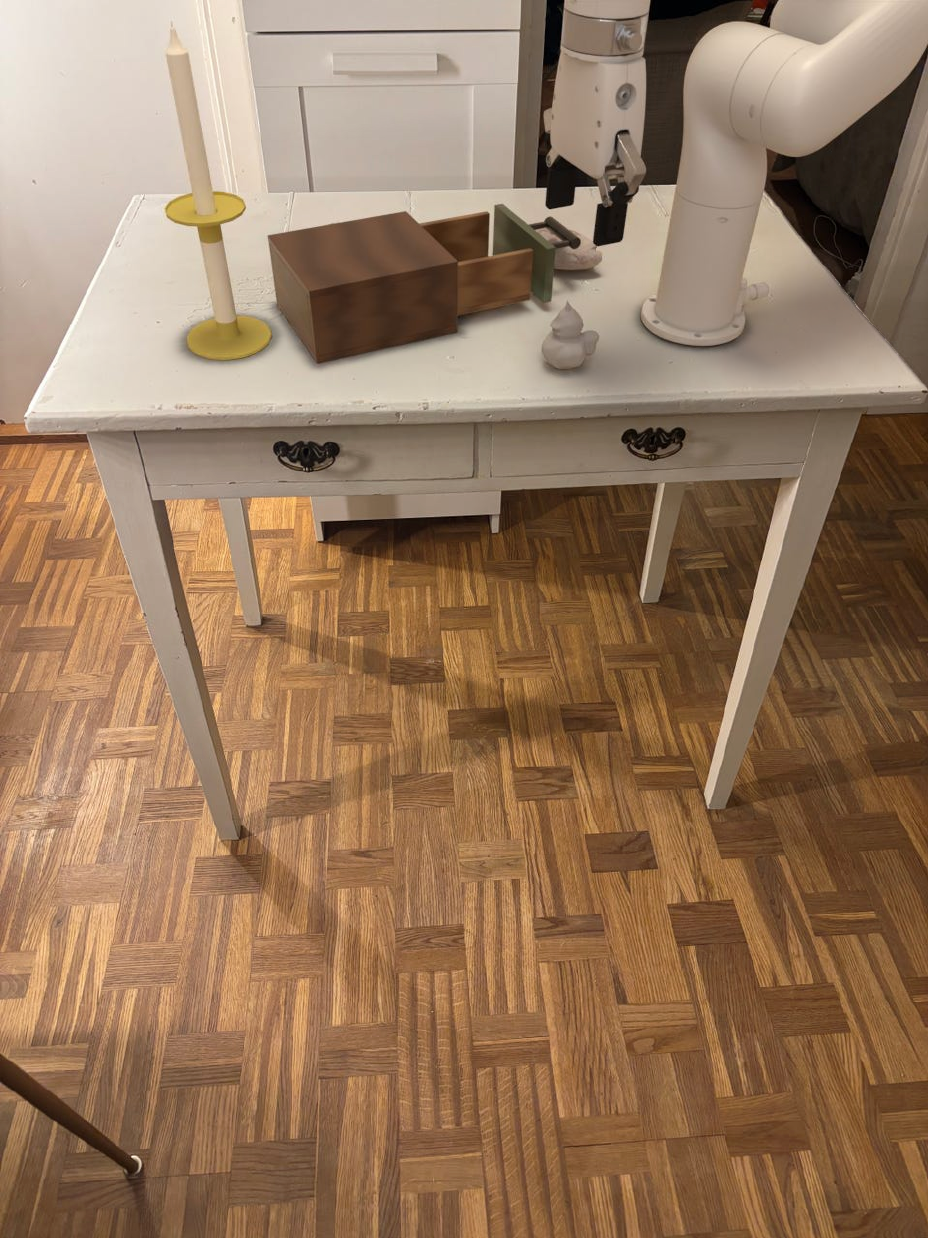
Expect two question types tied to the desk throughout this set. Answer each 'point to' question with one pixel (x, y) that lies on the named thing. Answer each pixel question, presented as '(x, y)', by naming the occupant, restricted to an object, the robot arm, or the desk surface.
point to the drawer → (500, 257)
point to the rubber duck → (568, 340)
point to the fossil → (573, 252)
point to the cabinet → (364, 285)
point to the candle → (208, 227)
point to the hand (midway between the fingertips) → (582, 224)
